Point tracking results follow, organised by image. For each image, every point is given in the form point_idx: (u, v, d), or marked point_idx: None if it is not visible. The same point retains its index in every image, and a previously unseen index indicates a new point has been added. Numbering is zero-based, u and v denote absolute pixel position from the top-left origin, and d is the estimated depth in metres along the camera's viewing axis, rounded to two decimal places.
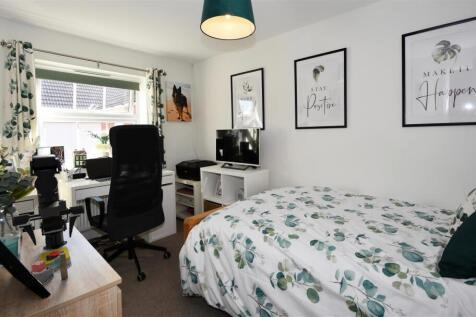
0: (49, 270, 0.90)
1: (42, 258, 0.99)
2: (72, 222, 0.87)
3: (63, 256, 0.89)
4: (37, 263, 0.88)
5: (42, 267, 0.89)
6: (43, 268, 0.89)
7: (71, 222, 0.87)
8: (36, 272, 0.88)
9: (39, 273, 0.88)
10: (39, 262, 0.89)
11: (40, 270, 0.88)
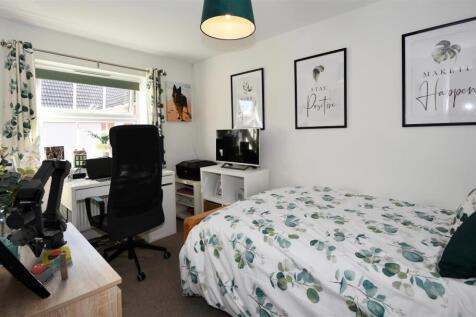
0: (49, 270, 0.90)
1: (44, 258, 0.99)
2: (36, 247, 1.00)
3: (63, 256, 0.89)
4: (37, 266, 0.89)
5: (42, 270, 0.89)
6: (43, 271, 0.89)
7: (35, 247, 1.00)
8: None
9: None
10: (39, 265, 0.89)
11: (41, 273, 0.88)
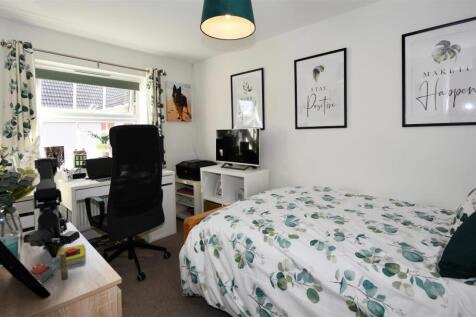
0: (49, 270, 0.90)
1: None
2: (53, 247, 0.99)
3: (63, 256, 0.89)
4: (37, 266, 0.89)
5: (42, 270, 0.89)
6: (43, 271, 0.89)
7: (52, 247, 0.99)
8: None
9: None
10: (39, 265, 0.89)
11: (41, 273, 0.88)
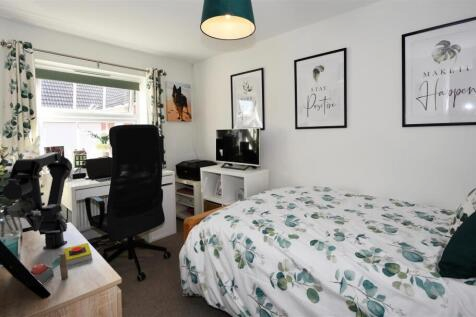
0: (49, 270, 0.90)
1: None
2: (34, 220, 0.99)
3: (63, 256, 0.89)
4: (37, 266, 0.89)
5: (42, 270, 0.89)
6: (43, 271, 0.89)
7: (33, 220, 0.99)
8: None
9: None
10: (39, 265, 0.89)
11: (41, 273, 0.88)
